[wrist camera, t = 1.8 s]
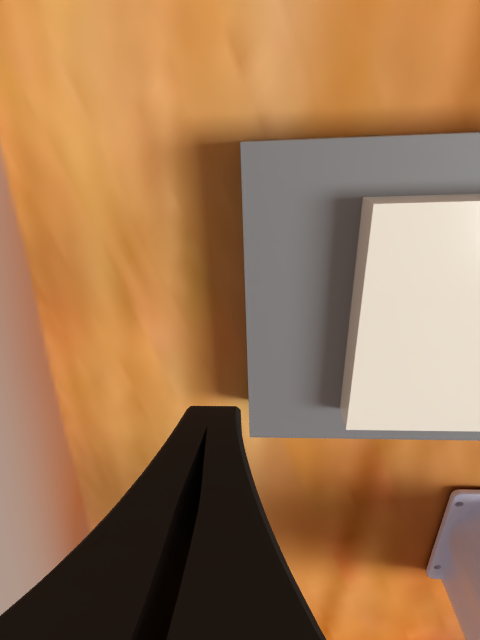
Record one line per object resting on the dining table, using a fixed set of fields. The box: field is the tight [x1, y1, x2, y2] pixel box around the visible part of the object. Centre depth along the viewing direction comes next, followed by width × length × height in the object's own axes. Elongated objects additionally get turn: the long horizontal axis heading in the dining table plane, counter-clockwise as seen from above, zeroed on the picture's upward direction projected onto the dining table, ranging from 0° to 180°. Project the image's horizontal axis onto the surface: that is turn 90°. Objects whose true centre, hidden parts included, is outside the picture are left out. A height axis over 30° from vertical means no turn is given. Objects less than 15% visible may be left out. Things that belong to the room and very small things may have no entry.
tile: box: [340, 194, 480, 432], centre depth 15 cm, size 10×7×2 cm
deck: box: [240, 131, 480, 440], centre depth 17 cm, size 14×16×3 cm
